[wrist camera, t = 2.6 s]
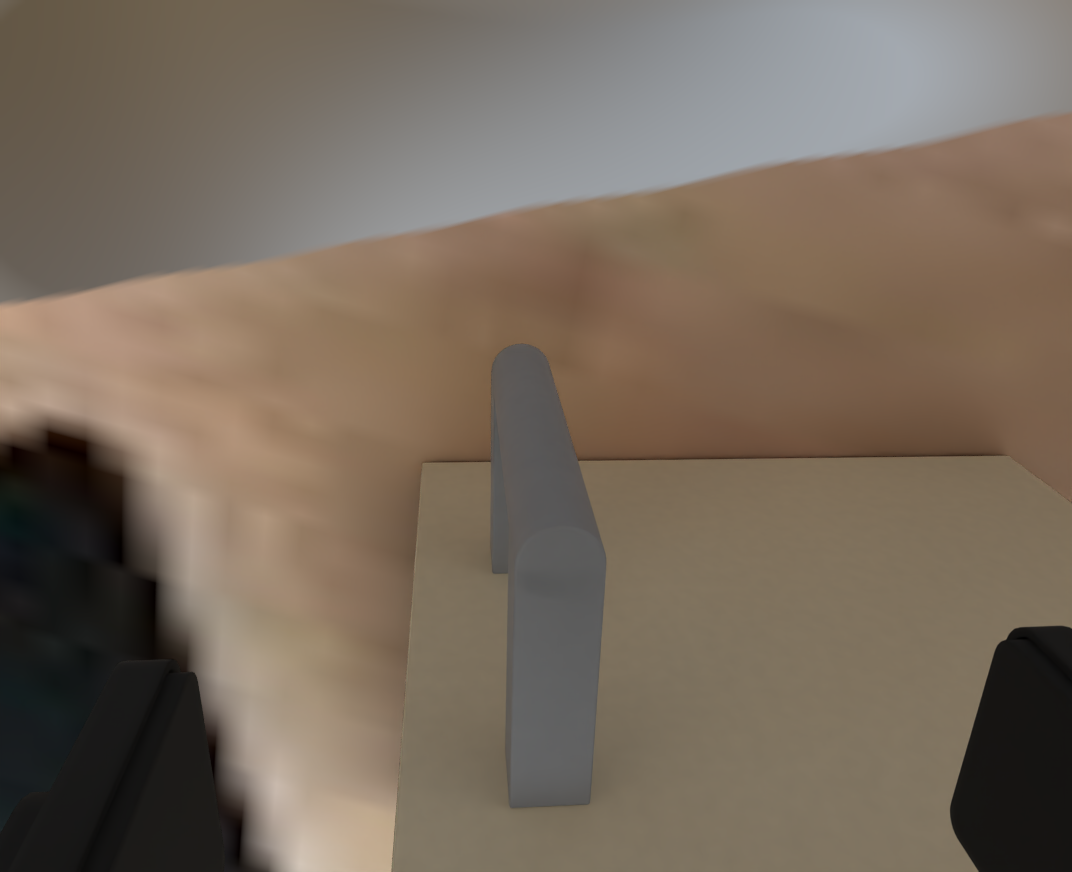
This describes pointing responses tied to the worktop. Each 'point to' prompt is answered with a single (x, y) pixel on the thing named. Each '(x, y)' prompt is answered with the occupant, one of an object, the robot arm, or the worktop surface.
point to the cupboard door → (705, 651)
